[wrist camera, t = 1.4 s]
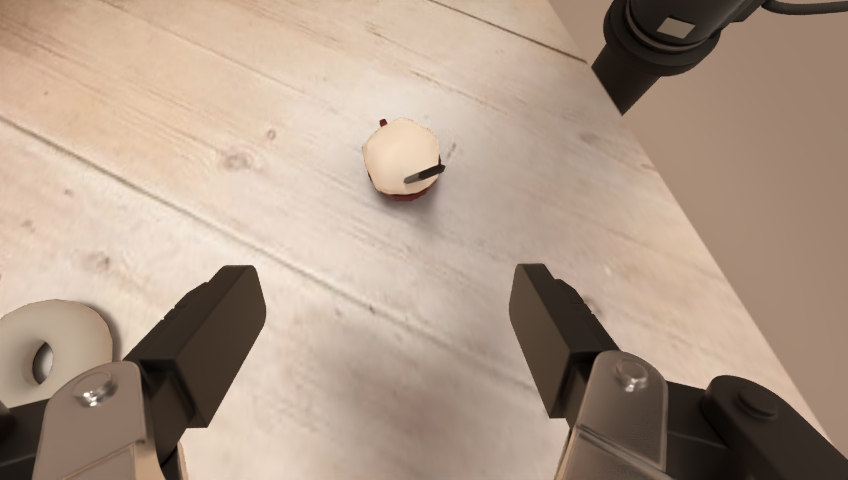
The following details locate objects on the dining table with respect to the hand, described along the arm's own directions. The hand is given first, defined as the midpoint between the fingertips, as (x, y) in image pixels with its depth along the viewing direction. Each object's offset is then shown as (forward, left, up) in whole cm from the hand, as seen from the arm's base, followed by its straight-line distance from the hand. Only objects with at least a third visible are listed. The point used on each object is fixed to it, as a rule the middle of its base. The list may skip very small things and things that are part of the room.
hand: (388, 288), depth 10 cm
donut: (+30, +2, -19) cm, 35 cm away
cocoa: (0, -11, -19) cm, 22 cm away
